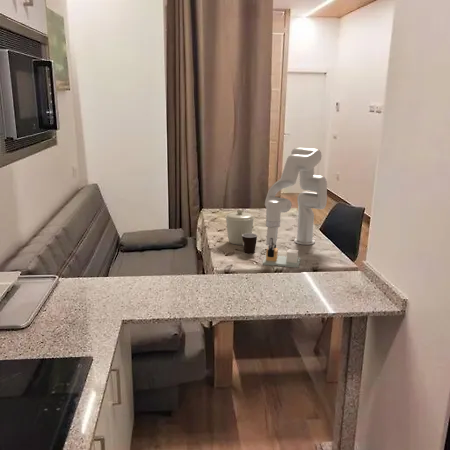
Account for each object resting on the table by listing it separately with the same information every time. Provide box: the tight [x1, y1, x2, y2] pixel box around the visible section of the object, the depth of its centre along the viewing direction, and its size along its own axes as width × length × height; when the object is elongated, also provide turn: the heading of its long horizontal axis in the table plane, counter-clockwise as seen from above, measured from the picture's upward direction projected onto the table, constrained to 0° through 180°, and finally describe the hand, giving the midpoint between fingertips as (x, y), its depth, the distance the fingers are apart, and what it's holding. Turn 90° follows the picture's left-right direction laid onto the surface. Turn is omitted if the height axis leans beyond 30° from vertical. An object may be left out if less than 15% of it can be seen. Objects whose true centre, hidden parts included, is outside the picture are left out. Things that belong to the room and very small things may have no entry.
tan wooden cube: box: [265, 247, 279, 261], centre depth 243 cm, size 6×6×6 cm
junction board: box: [262, 248, 301, 268], centre depth 241 cm, size 13×19×7 cm
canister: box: [224, 208, 256, 246], centre depth 273 cm, size 18×18×21 cm
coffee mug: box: [242, 233, 258, 255], centre depth 258 cm, size 12×9×10 cm
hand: (271, 254), depth 242 cm, fingers open, 9 cm apart
